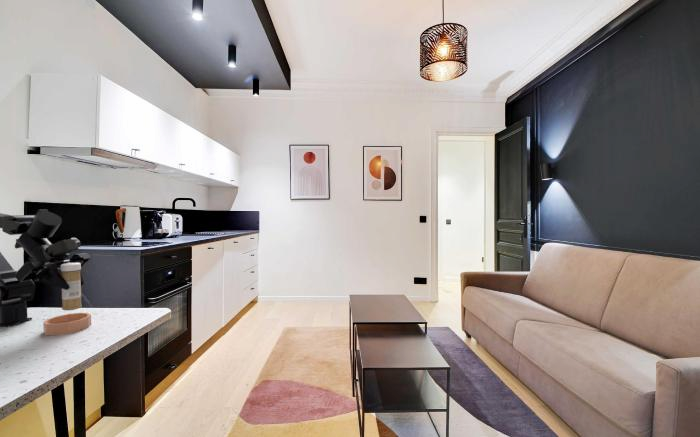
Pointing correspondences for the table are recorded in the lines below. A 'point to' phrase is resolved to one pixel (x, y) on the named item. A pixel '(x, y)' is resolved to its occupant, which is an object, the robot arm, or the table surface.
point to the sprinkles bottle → (71, 286)
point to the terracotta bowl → (67, 323)
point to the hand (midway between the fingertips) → (75, 286)
